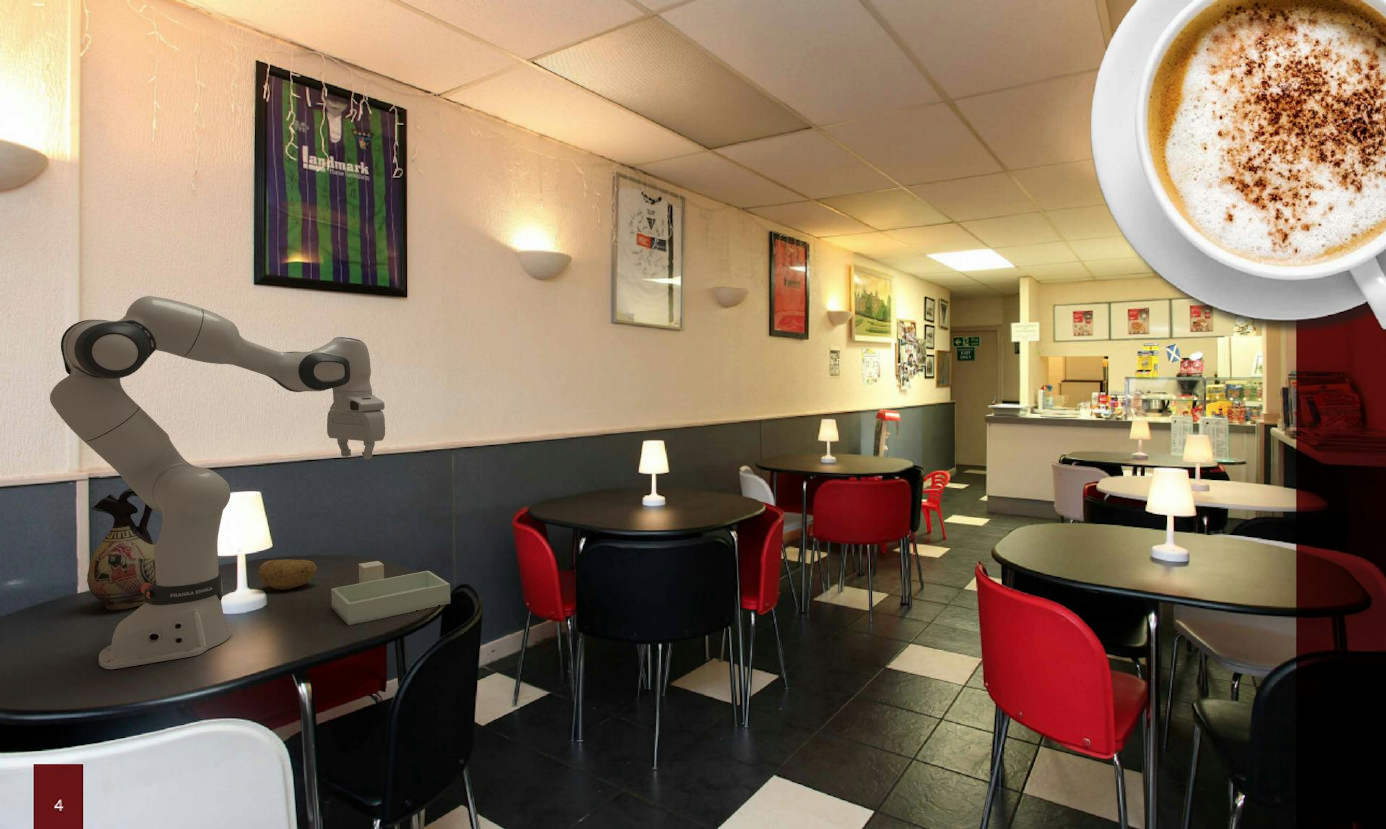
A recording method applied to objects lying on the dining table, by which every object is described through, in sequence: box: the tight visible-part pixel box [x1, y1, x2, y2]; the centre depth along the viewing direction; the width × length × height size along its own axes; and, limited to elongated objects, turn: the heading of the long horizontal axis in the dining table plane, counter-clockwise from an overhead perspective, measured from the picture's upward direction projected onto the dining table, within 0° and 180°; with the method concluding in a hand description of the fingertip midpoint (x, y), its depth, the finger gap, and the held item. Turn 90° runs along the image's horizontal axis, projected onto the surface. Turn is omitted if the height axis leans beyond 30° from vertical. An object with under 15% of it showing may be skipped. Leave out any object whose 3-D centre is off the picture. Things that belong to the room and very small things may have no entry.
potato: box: [257, 558, 317, 591], centre depth 190 cm, size 10×14×8 cm
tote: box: [330, 570, 452, 627], centre depth 176 cm, size 24×16×5 cm, turn 130°
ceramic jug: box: [86, 488, 156, 611], centre depth 177 cm, size 17×15×30 cm
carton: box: [358, 560, 385, 584], centre depth 189 cm, size 5×5×7 cm
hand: (356, 457), depth 176 cm, fingers open, 8 cm apart
